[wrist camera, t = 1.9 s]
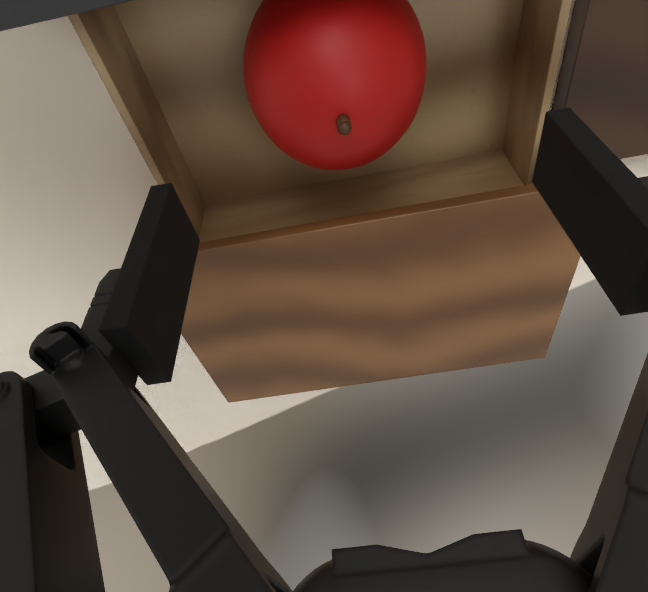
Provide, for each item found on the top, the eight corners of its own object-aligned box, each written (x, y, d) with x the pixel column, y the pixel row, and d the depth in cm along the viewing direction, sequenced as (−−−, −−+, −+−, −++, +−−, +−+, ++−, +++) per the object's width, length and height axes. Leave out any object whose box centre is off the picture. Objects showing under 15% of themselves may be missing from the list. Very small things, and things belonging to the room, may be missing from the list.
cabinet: (167, 156, 32) (131, 262, 24) (527, 86, 29) (608, 179, 22) (237, 301, 43) (228, 403, 36) (498, 258, 41) (545, 357, 34)
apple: (225, -37, 22) (198, 35, 15) (404, -78, 22) (462, -23, 15) (271, 130, 29) (267, 233, 22) (410, 102, 28) (451, 200, 21)
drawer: (11, -159, 19) (-133, -140, 13) (595, -316, 17) (793, -395, 11) (190, 206, 34) (166, 304, 27) (518, 145, 32) (581, 235, 25)
